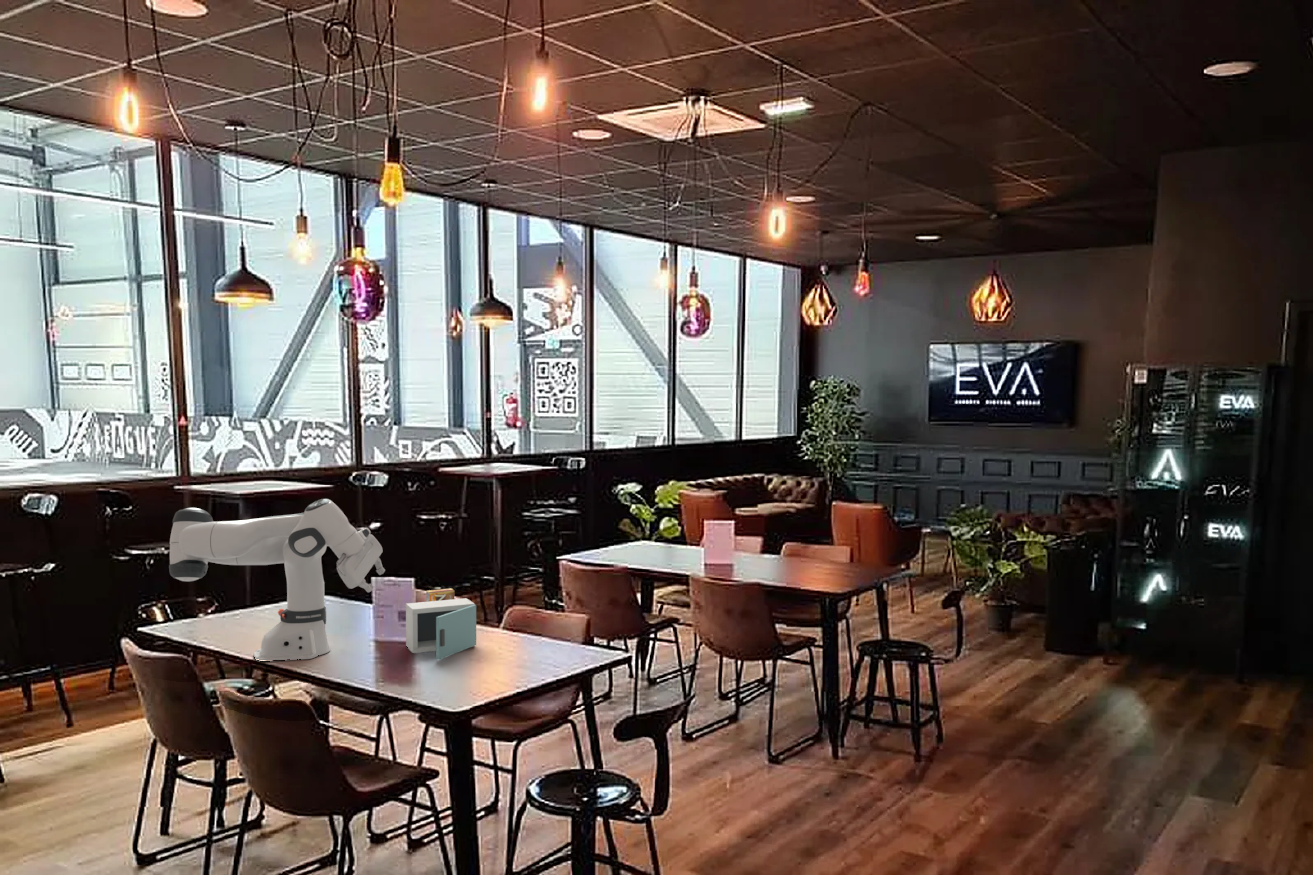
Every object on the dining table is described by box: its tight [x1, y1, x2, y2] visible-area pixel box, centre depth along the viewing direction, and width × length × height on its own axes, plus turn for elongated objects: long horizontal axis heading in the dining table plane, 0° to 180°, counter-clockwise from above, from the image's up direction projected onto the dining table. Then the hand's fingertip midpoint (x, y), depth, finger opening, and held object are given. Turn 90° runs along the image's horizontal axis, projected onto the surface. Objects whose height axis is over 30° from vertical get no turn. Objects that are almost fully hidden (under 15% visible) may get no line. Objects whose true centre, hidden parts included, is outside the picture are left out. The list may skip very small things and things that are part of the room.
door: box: [435, 604, 477, 661], centre depth 294 cm, size 20×2×13 cm, turn 157°
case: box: [405, 597, 476, 654], centre depth 304 cm, size 20×10×14 cm, turn 117°
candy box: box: [425, 588, 456, 602], centre depth 320 cm, size 9×4×15 cm, turn 121°
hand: (376, 581), depth 279 cm, fingers open, 8 cm apart
